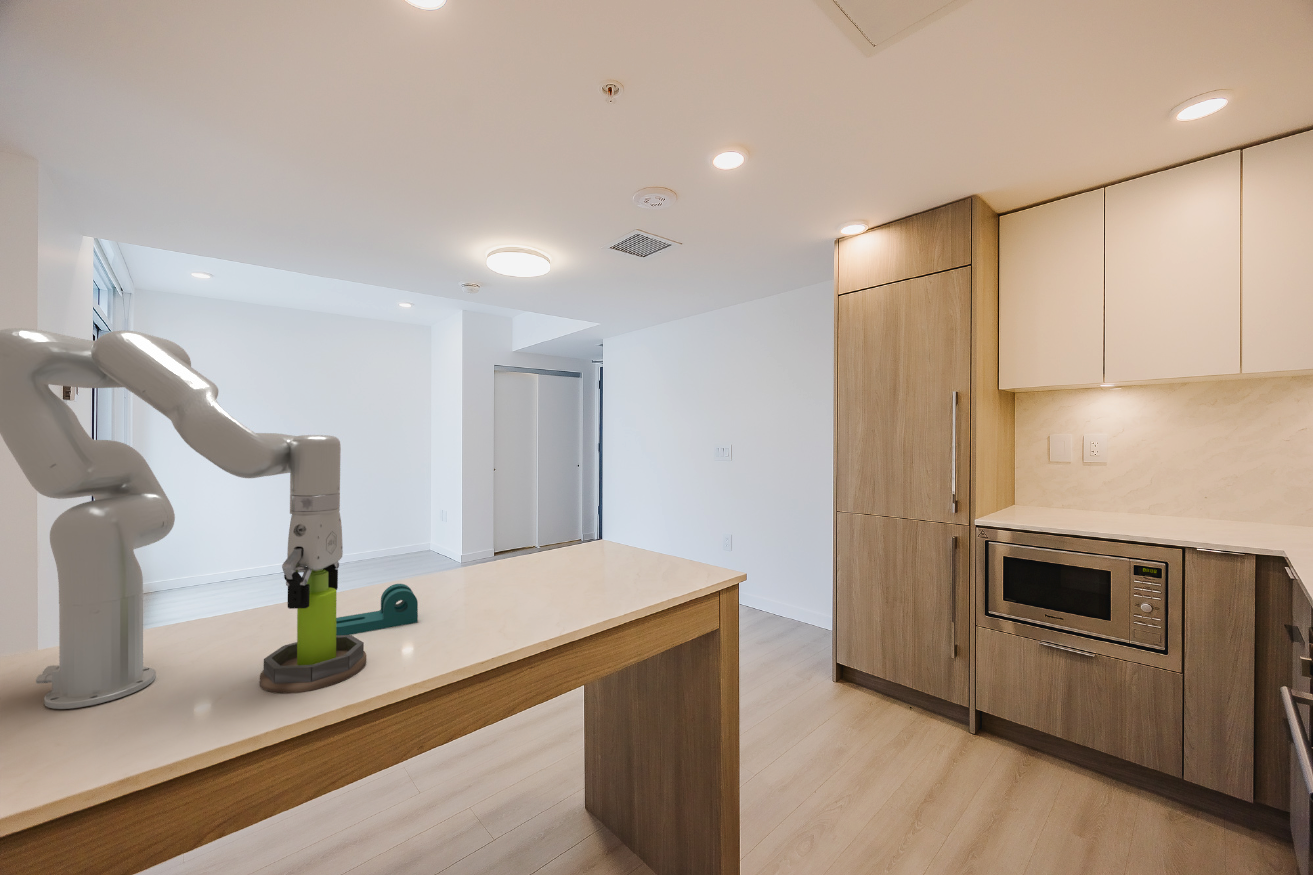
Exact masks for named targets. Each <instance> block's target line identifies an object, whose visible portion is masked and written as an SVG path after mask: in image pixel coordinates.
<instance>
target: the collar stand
mask: <svg viewBox="0 0 1313 875" xmlns="http://www.w3.org/2000/svg"><path fill="white" fill-rule="evenodd" d="M366 665H367V653H366V651H365V650H364V642H363V641H362V640H360V639H358V638H356V637H355V636H354V635H353V634H352V635H337V636H336V658H333V659H330V660H326V661H323V662H320V663H316V664H313V665H297V641H296V642H293V643H288V644H285V645H281V647H279V648H278V649H277V650H275V651H274V652H272V653H271V654H269V655H267V656H266V657H265V658H263V669H262V671H261V672H260V675H259V685H260V688H261V689H262V690H264V691H265V692H269V693H274V694H297V693H303V692H309V691H313V690H319V689H323V688H327V687H330V686H334V685H336V684H339V683H341V682H344V681H346V680H348V679H350V678H352V677H354V676H356V675H357V674H358V673H360V672H361V671H362V670H363V669H364V668H365V667H366Z"/></svg>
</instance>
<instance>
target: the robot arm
mask: <svg viewBox="0 0 1313 875" xmlns="http://www.w3.org/2000/svg"><path fill="white" fill-rule="evenodd" d="M49 385H52V386H61V387H70V388H71V387H72V388H84V389H108V388H111V389H112V388H115V389H116V388H118V389H119V388H124V389H126V390H128V391H129V392H130V393H132V394H134V395H135V396H136V397H138V398H140V400H142V401H144V402H145V403H147V404H148V405H149V406H151V407H152V408H154V409H155V410H156V411H157V412H159V413H161V414H162V415H163V416H165V417H166V418H167V419H168V420H170V422H171V424H172V425H173V428H174V430H176V432H177V433H178V435H179V436H180V437H181V438H182V440H183V441H184V442H185V443H186V444H187V445H188V447H190V448H191V449H192V450H194V451H195V452H196V453H198V454H199V455H201V456H202V457H203V458H204V459H206V460H208V461H209V462H211V463H212V464H213V465H215V466H217V467H218V468H219V469H221V470H222V471H224V472H226V473H228V474H230V475H233V476H235V477H238V478H242V479H256V478H257V479H258V478H262V477H263V478H264V477H270V476H277V475H283V474H290V476H289V483H290V484H289V514H290V515H291V517H290V521H289V530H288V539H287V556H286V557H287V558H286V559H285V561H284V562H282V565H281V568H282V572H283V574H284V575H283V578H284V580H285V584H286V585H285V586H287V608H288V609H291V610H292V609H293V610H294V609H295V610H297V609H298V608H307V607H309V591H310V584H307V581H308V579H309V576H310V574H311V571H312V569H313V570H314V571H319V570H322V569H324V570H326V571H328V587H329V588H335V589H336V591H337V590H338V589H339V588H338V584H339V568H340V562H339V561H341V559H342V558H343V555H344V554H343V553H344V552H343V548H344V547H343V529H342V528H343V527H342V517H341V513H340V510H341V508H340V506H341V503H340V502H341V500H340V499H341V450H342V449H341V441H340V440H339V438H338V437H336V436H334V435H323V434H319V435H318V434H312V435H311V434H310V435H309V434H308V435H305V434H302V435H292V434H291V435H290V434H283V433H277V432H276V433H269V432H268V433H267V432H254V431H253V430H251V429H250V428H248V427H247V426H245V425H244V424H242V423H241V422H240V421H238V420H237V419H236V418H234V417H233V416H231V415H230V414H229V413H228V412H227V411H225V410H224V409H223V407H221V406H220V403H219V402H218V401H217V399H218V396H219V388H218V386H217V385H216V384H215V383H214V382H213V381H211V380H210V379H209V378H207V377H205V376H204V375H203V374H202V373H200V372H198V371H197V369H195V368H193V367H192V360H191V358H190V356H189V354H188V353H187V352H186V350H185V349H184V348H183V347H182V346H180V345H179V344H177V343H175V342H173V341H171V340H169V339H167V338H166V339H165V338H163V337H159V336H154V335H151V334H147V333H143V332H140V331H133V330H126V329H125V330H114V331H110V332H107V333H105V334H103V335H100V336H99V337H98V338H96V340H89V339H84V338H79V337H74V336H71V335H70V336H69V335H65V334H60V333H57V332H52V331H47V330H46V331H45V330H41V329H34V328H33V329H32V328H22V327H21V328H16V327H15V328H3V329H0V435H1V437H2V440H3V441H4V443H5V445H6V447H7V448H8V450H9V452H10V453H11V455H12V456H13V458H14V459H15V461H16V463H17V464H18V466H19V468H20V470H21V471H22V473H23V474H24V476H25V478H26V479H27V481H28V483H29V484H30V486H32V487H33V488H34V490H35V491H36V492H38V494H40V495H41V496H45V497H47V498H52V499H65V500H66V499H74V498H75V499H76V498H81V497H82V498H83V497H89V496H92V497H93V499H94V500H89V501H86V502H82V503H80V504H76V505H74V506H72V507H70V508H68V509H66V510H65V511H64V512H62V513H61V514H59V515H58V517H56V518H55V520H54V522H53V523H52V525H51V527H50V531H49V544H50V548H51V551H52V556H53V558H54V561H55V566H56V572H57V578H58V579H57V580H58V581H57V582H58V608H59V613H58V615H59V616H58V621H59V622H58V623H59V624H58V625H59V627H58V629H59V632H58V633H59V634H58V635H59V637H58V640H59V641H58V642H59V648H58V649H59V650H58V651H59V652H58V654H59V656H58V658H59V663H58V665H48V666H47V667H45V668H44V669H43V671H42V673H41V674H39V675H38V676H37V677H36V679H35V683H36V684H48V683H49V684H50V683H51V690H50V691H49V692H47V693H46V695H45V696H44V698H43V699H44V706H46V708H49V709H52V710H67V709H69V710H71V709H78V708H83V707H89V706H94V705H98V704H103V703H106V702H110V701H114V700H117V699H120V698H123V697H126V696H129V695H132V694H134V693H136V692H138V691H140V690H142V689H144V688H146V687H148V686H149V685H150V684H152V683H153V681H155V679H156V677H157V672H156V671H157V670H155V669H154V668H152V667H150V666H144V580H143V579H144V577H143V572H142V569H141V568H142V567H141V566H140V563H139V561H138V559H137V556H136V554H135V552H134V550H137V549H139V548H143V547H147V546H149V545H152V544H154V543H157V542H160V541H161V540H163V539H164V538H165V537H167V536H168V535H169V534H170V533H171V531H172V530H173V527H174V525H175V519H176V516H175V515H176V514H175V510H174V508H173V505H172V502H170V499H169V498H168V496H167V494H166V493H165V491H164V489H163V487H162V485H161V484H160V482H159V481H158V479H157V477H156V475H155V474H154V472H153V470H152V468H151V467H150V465H149V463H148V462H147V461H146V459H145V458H144V456H143V455H142V454H141V453H140V452H139V451H138V450H137V449H135V448H134V447H132V446H130V445H128V444H127V443H124V442H121V441H117V440H112V439H111V440H110V439H93V438H92V437H91V436H90V434H88V433H87V431H86V430H85V429H84V427H83V425H82V423H81V422H80V420H79V418H78V416H77V415H76V413H75V411H73V409H72V408H71V407H70V406H69V405H68V404H67V403H66V402H65V401H64V400H63V399H61V398H60V397H59V396H58V395H57V394H56V393H54V392H53V391H52V390H51V388H50V386H49ZM300 573H301V574H302V575H301V574H300Z"/></svg>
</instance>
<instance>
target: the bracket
mask: <svg viewBox="0 0 1313 875" xmlns="http://www.w3.org/2000/svg"><path fill="white" fill-rule="evenodd" d="M399 601H400V602H399ZM398 602H399V603H398ZM418 603H419V602H418V599H417V597H416V595H415V593H414V592H413V591H412V589H411V588H410V587H409V586H408V585H407V584H404V583H395V584H391V585H389V587H387V588H386V589H384V591H383V592H382V594H381V597H380V609H379V610H376V611H369V612H362V613H358V614H357V613H356V614H351V615H345V616H338V617H336V636H337V635H352V636H353V635H356V634H361V633H362V634H363V633H367V632H372V631H374V632H375V631H378V630H383V629H389V628H394V627H395V628H396V627H400V626H402V627H403V626H406V625H411V624H417V623H418V621H419V620H418V619H419V617H418V611H419V609H418V608H419V607H418Z"/></svg>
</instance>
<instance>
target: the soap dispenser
mask: <svg viewBox="0 0 1313 875" xmlns="http://www.w3.org/2000/svg"><path fill="white" fill-rule="evenodd" d="M307 584H310V591H309V607H307V608H298V609H296V610H297V614H296V615H297V616H296V619H297V621H296V623H297V624H296V632H297V633H296V642H297V665H313V664H316V663H320V662H323V661H326V660H330V659H333V658H336V618H337V590H336V589H335V588H329V587H328V571H326V570H324V569H322V570H319V571H314V570H313V569H312V571H311V574H310V576H309V579H308V581H307Z"/></svg>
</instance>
